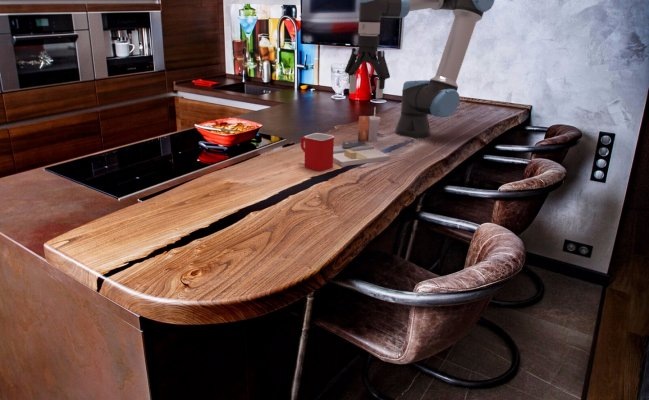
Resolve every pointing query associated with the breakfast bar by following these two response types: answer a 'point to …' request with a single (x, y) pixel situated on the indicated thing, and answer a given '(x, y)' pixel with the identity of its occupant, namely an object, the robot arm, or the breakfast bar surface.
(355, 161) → the door panel
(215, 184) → the breakfast bar surface
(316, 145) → the mug
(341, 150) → the jamb strip
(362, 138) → the latch bar
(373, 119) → the smoothie
